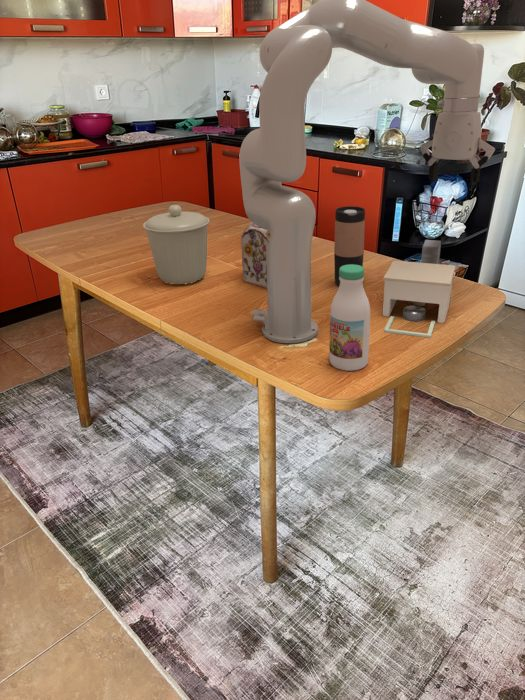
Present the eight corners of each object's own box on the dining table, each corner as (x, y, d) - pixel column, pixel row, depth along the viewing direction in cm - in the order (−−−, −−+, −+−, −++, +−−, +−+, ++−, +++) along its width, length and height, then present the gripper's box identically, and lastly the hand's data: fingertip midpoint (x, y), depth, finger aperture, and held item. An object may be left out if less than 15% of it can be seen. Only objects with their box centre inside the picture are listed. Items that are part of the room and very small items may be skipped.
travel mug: (345, 276, 156) (347, 204, 147) (368, 282, 151) (371, 208, 142) (328, 284, 152) (328, 210, 142) (350, 291, 147) (353, 214, 137)
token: (401, 320, 130) (401, 312, 129) (404, 312, 134) (405, 304, 133) (423, 323, 128) (424, 315, 127) (426, 314, 132) (426, 306, 131)
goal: (384, 331, 124) (384, 329, 124) (390, 318, 131) (390, 316, 130) (430, 337, 121) (430, 335, 120) (434, 323, 127) (435, 321, 127)
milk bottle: (342, 350, 117) (345, 258, 108) (375, 360, 113) (380, 265, 104) (321, 364, 112) (322, 269, 103) (355, 375, 108) (359, 277, 99)
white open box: (381, 316, 132) (383, 277, 127) (390, 296, 142) (393, 260, 138) (445, 323, 127) (450, 283, 122) (451, 303, 137) (455, 265, 132)
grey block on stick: (409, 305, 137) (412, 266, 132) (422, 275, 155) (425, 239, 150) (426, 307, 135) (430, 267, 131) (437, 276, 154) (441, 240, 149)
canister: (181, 265, 171) (173, 195, 162) (227, 274, 162) (221, 201, 152) (137, 283, 159) (126, 208, 149) (184, 295, 149) (175, 216, 139)
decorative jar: (273, 291, 149) (270, 224, 141) (241, 282, 156) (237, 217, 148) (301, 278, 157) (300, 214, 148) (270, 270, 164) (268, 208, 156)
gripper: (417, 107, 129) (412, 183, 137) (494, 107, 119) (484, 189, 127) (430, 104, 134) (424, 177, 142) (505, 104, 124) (494, 183, 132)
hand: (452, 183), depth 134 cm, fingers open, 9 cm apart
